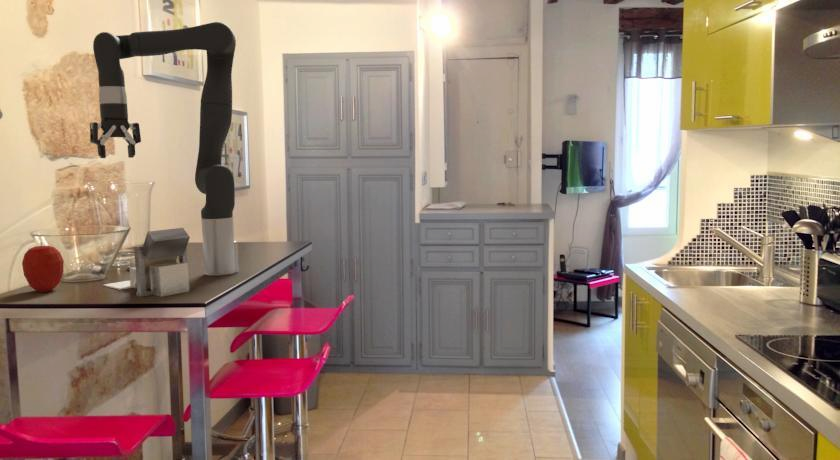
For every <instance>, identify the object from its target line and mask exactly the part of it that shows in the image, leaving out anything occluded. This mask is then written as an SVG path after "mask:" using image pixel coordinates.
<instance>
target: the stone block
mask: <svg viewBox="0 0 840 460" xmlns="http://www.w3.org/2000/svg"><path fill="white" fill-rule="evenodd" d="M135 276H136V267H132V268H130V267H129V280H130V285H131V286H133V283H134V279H135ZM146 290H151V286H146Z"/></svg>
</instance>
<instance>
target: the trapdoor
mask: <svg viewBox="0 0 840 460" xmlns="http://www.w3.org/2000/svg"><path fill="white" fill-rule="evenodd" d="M145 235H146V236H145V239H144V243H143V245H142V246H143V255H144V269H145V283H146V286H151V281H150V267H149V265H155V264H161V263H168V262H175V261H177V259H178V257H179V256H183V255H184V253H185V250H186V247H187V246H188V244H189V241H190V239H191V238H190V235H189V234H188V233H187V230H185V229H184V227H179V228H169V229H160V230H151V231H147V232H146V234H145ZM187 248H188V247H187ZM133 287H134V288H133V289H137V280H136V276H135V279H134V283H133Z"/></svg>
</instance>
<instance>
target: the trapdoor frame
mask: <svg viewBox="0 0 840 460" xmlns="http://www.w3.org/2000/svg"><path fill="white" fill-rule="evenodd" d="M133 250H134V251H133V252H134V259H135V267H136V280H137V288H136V292H135V295H136V297H137V296H138V297H141V298H142V297H147V296H152V295H153V296H157V297H167V296H173V295H178V294H184V293H189V292H190V289H191V288H192V287H191V284H190V279H189V275H190V274H189V262H188V247H186V250H185V253H184V255H183V256H178V260H176V261H175V262H168V263H161V264H155V265H149V267H150V281H151V288H150V289H146V283H145V269H144V255H143V245H136V246H133Z"/></svg>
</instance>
